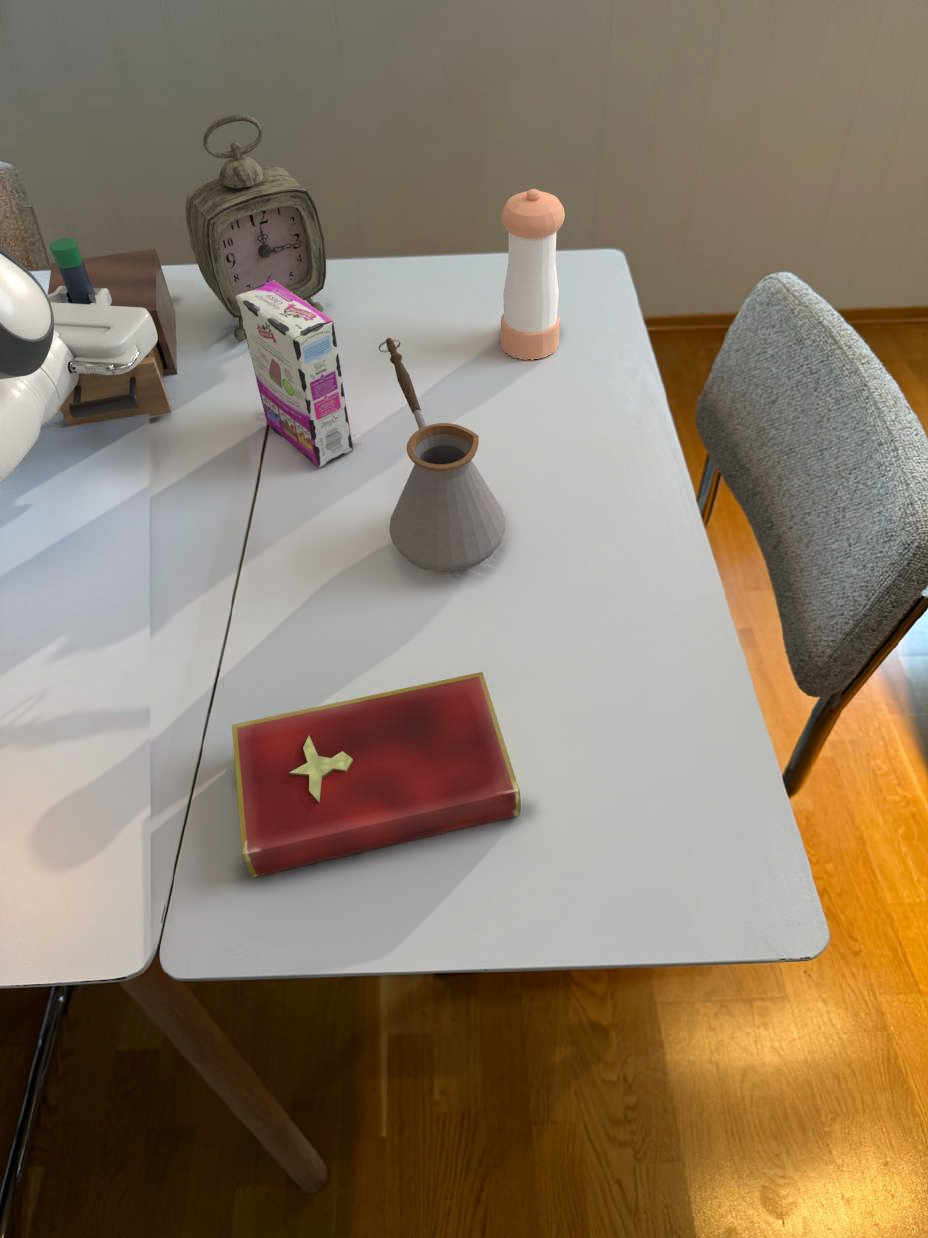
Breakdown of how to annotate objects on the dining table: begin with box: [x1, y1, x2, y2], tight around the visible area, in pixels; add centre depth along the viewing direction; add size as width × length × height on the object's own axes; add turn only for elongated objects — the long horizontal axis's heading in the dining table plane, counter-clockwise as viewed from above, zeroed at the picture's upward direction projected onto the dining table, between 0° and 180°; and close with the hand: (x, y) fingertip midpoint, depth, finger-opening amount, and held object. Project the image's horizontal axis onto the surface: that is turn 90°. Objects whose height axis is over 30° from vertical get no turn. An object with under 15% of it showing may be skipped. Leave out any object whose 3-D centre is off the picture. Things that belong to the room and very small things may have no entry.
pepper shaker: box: [500, 188, 566, 361], centre depth 105 cm, size 7×7×19 cm
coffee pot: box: [377, 337, 506, 574], centre depth 88 cm, size 21×12×15 cm, turn 21°
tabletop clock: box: [185, 113, 327, 342], centre depth 109 cm, size 14×9×25 cm, turn 120°
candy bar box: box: [236, 280, 354, 469], centre depth 96 cm, size 11×5×16 cm, turn 41°
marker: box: [48, 237, 93, 305], centre depth 98 cm, size 3×3×15 cm
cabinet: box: [47, 248, 178, 377], centre depth 112 cm, size 15×13×9 cm
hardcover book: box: [231, 671, 522, 878], centre depth 72 cm, size 12×21×4 cm, turn 103°
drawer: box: [59, 340, 172, 427], centre depth 104 cm, size 19×12×7 cm, turn 13°
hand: (86, 292), depth 98 cm, fingers closed on marker, 2 cm apart
